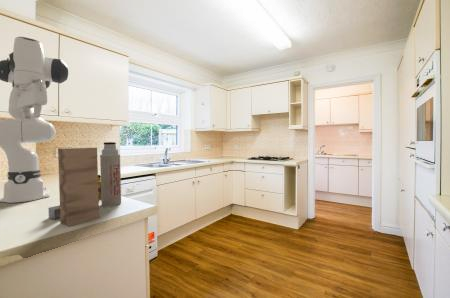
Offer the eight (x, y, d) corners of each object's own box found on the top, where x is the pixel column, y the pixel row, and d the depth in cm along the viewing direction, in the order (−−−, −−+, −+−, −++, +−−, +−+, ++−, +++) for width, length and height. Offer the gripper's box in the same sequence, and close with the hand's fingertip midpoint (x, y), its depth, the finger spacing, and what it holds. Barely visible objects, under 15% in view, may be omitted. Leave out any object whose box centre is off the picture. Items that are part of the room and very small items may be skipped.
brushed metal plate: (47, 183, 81) (53, 184, 79) (77, 179, 90) (83, 180, 87) (48, 218, 82) (54, 220, 79) (78, 211, 90) (84, 213, 88)
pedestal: (60, 223, 77) (57, 148, 76) (90, 214, 85) (88, 147, 84) (68, 226, 73) (65, 148, 72) (99, 217, 82) (97, 147, 81)
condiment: (103, 200, 106) (102, 175, 106) (82, 203, 102) (82, 177, 101) (102, 197, 113) (101, 173, 112) (82, 199, 108) (81, 175, 107)
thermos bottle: (124, 203, 100) (122, 142, 99) (105, 207, 95) (103, 142, 94) (117, 200, 106) (115, 142, 105) (98, 203, 100) (97, 142, 99)
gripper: (52, 79, 80) (53, 117, 80) (31, 87, 91) (32, 120, 91) (29, 75, 75) (31, 116, 75) (10, 84, 86) (11, 119, 86)
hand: (31, 118), depth 83 cm, fingers open, 8 cm apart
